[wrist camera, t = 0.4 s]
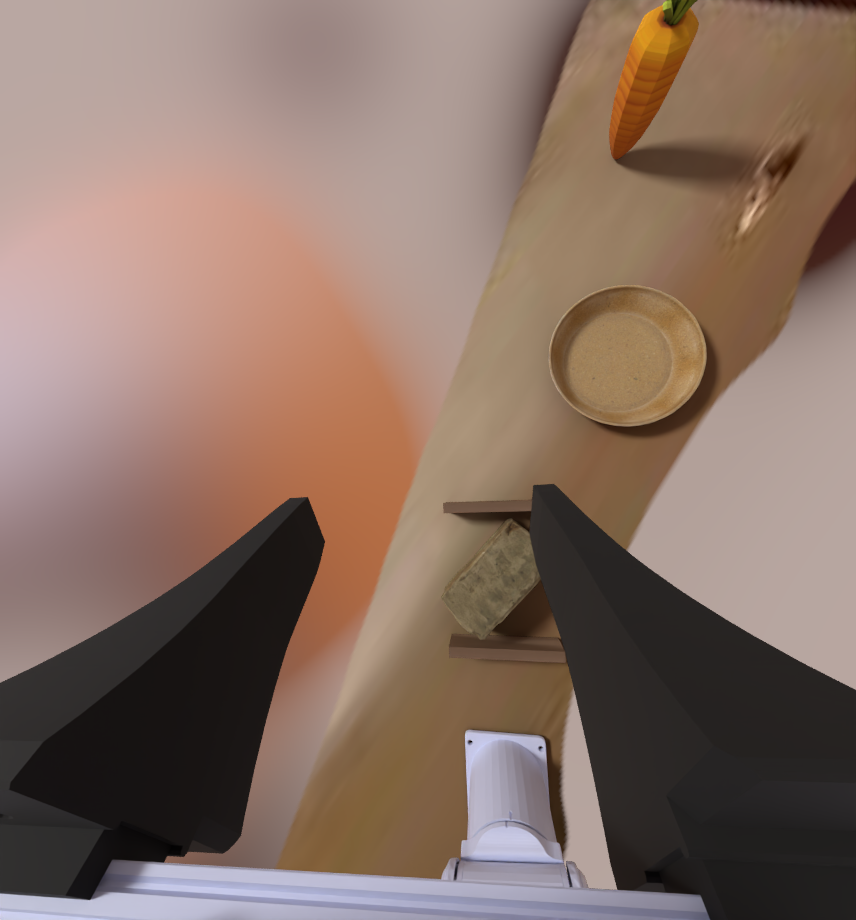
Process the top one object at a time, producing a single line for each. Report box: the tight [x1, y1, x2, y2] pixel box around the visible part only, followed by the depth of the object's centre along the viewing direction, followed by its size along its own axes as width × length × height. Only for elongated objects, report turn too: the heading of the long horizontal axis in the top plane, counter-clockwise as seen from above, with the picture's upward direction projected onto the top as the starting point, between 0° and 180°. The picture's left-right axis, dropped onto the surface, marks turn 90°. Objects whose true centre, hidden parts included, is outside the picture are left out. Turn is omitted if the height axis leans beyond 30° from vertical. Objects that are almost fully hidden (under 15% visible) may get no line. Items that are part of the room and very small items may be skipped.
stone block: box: [441, 518, 541, 640], centre depth 33 cm, size 6×12×5 cm, turn 138°
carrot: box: [609, 0, 699, 159], centre depth 30 cm, size 5×5×15 cm
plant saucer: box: [549, 285, 707, 426], centre depth 34 cm, size 15×15×3 cm
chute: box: [443, 500, 566, 663], centre depth 34 cm, size 15×11×3 cm
